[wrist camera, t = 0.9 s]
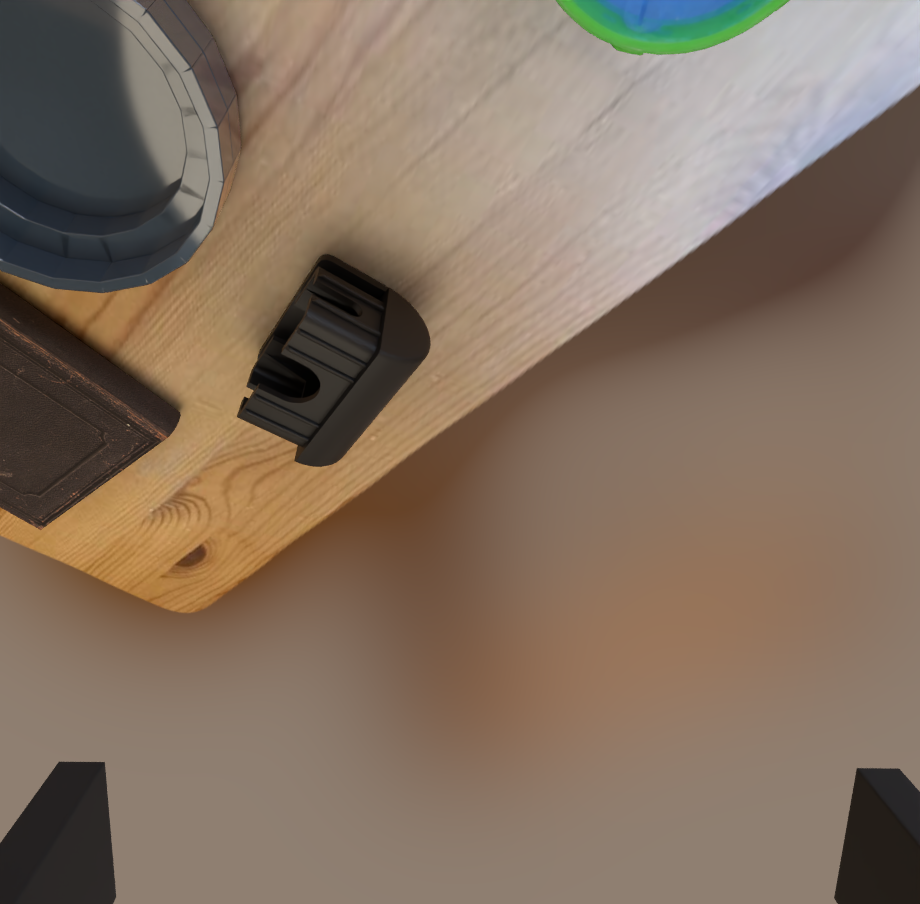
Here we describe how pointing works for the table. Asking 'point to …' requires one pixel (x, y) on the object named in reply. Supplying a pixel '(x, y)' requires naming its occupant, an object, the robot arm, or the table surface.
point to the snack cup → (667, 22)
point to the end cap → (333, 361)
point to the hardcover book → (65, 416)
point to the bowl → (110, 140)
